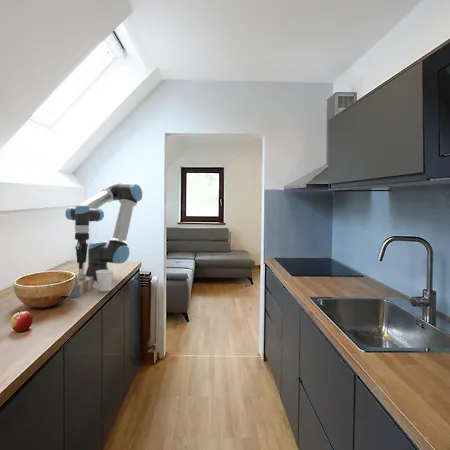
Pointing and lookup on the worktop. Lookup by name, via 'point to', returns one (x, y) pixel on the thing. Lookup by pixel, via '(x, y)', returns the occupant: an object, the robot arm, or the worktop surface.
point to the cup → (104, 279)
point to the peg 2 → (81, 276)
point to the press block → (81, 287)
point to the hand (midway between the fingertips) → (81, 274)
